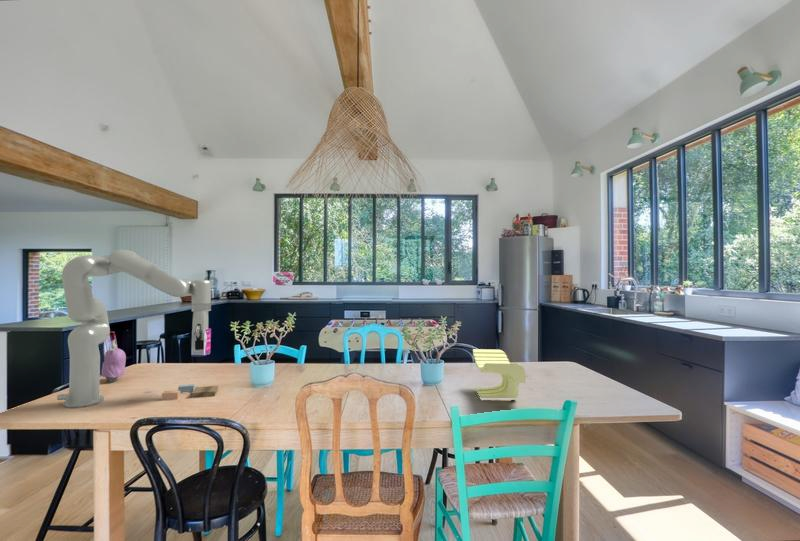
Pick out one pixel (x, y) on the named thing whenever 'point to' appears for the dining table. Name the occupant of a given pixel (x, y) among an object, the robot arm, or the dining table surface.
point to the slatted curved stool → (501, 365)
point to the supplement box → (206, 344)
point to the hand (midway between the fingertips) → (201, 347)
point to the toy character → (113, 363)
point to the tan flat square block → (204, 391)
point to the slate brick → (186, 388)
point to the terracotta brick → (170, 395)
